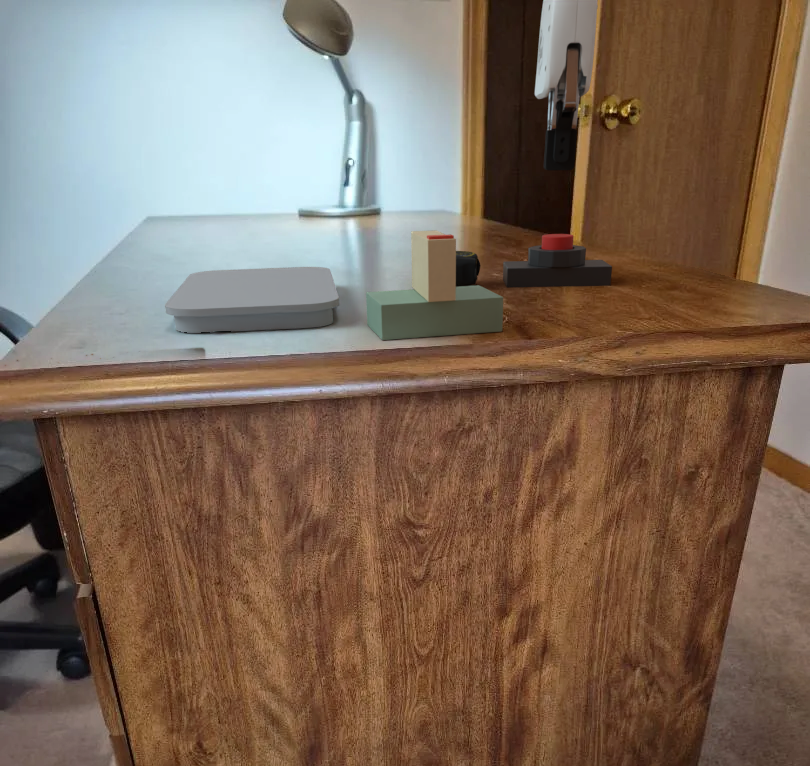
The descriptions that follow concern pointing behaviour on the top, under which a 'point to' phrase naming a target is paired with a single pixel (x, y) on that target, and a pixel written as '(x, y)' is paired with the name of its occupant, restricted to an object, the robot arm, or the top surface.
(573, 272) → the dark grey button housing
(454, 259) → the cream red-tipped block
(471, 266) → the tape measure
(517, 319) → the top surface
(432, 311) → the green rectangular block
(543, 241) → the bell button
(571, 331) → the top surface
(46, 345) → the top surface
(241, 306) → the grey flat slab
